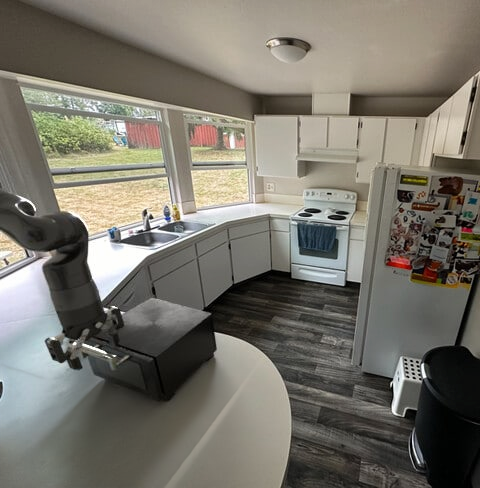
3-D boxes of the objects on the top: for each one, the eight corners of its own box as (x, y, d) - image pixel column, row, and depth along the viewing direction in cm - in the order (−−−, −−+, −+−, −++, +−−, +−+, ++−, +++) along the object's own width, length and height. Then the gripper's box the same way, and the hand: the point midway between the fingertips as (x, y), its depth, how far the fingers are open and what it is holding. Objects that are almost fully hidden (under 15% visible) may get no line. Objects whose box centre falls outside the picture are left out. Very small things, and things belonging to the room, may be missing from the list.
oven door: (144, 416, 63) (129, 366, 57) (76, 386, 70) (57, 339, 65) (163, 397, 68) (151, 350, 62) (98, 371, 75) (82, 326, 69)
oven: (167, 405, 69) (155, 357, 64) (102, 378, 77) (86, 333, 71) (217, 354, 87) (211, 313, 82) (160, 336, 94) (151, 297, 89)
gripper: (101, 282, 64) (116, 334, 70) (23, 314, 51) (50, 374, 57) (122, 288, 62) (136, 341, 68) (47, 322, 49) (72, 384, 55)
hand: (97, 356), depth 62 cm, fingers open, 7 cm apart
